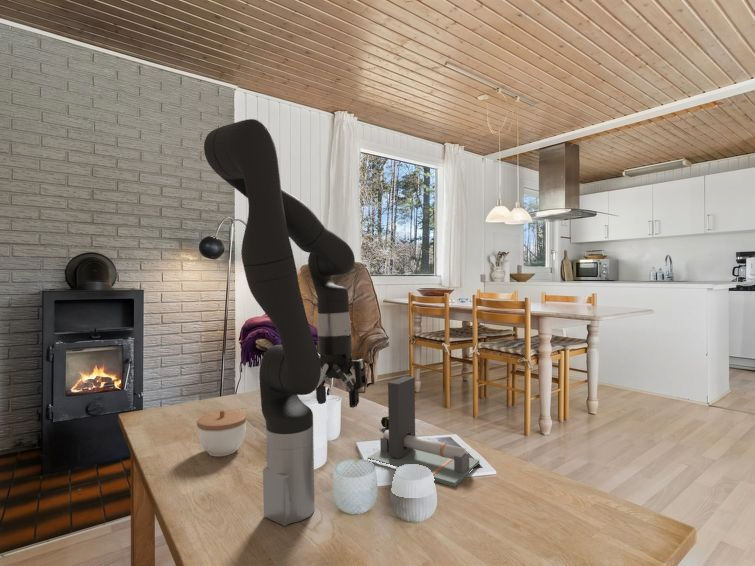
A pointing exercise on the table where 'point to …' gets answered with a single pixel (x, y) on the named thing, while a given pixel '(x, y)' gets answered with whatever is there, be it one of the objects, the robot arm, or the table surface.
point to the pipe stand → (430, 458)
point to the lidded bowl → (222, 432)
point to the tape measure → (385, 422)
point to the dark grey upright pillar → (401, 414)
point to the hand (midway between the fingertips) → (337, 405)
